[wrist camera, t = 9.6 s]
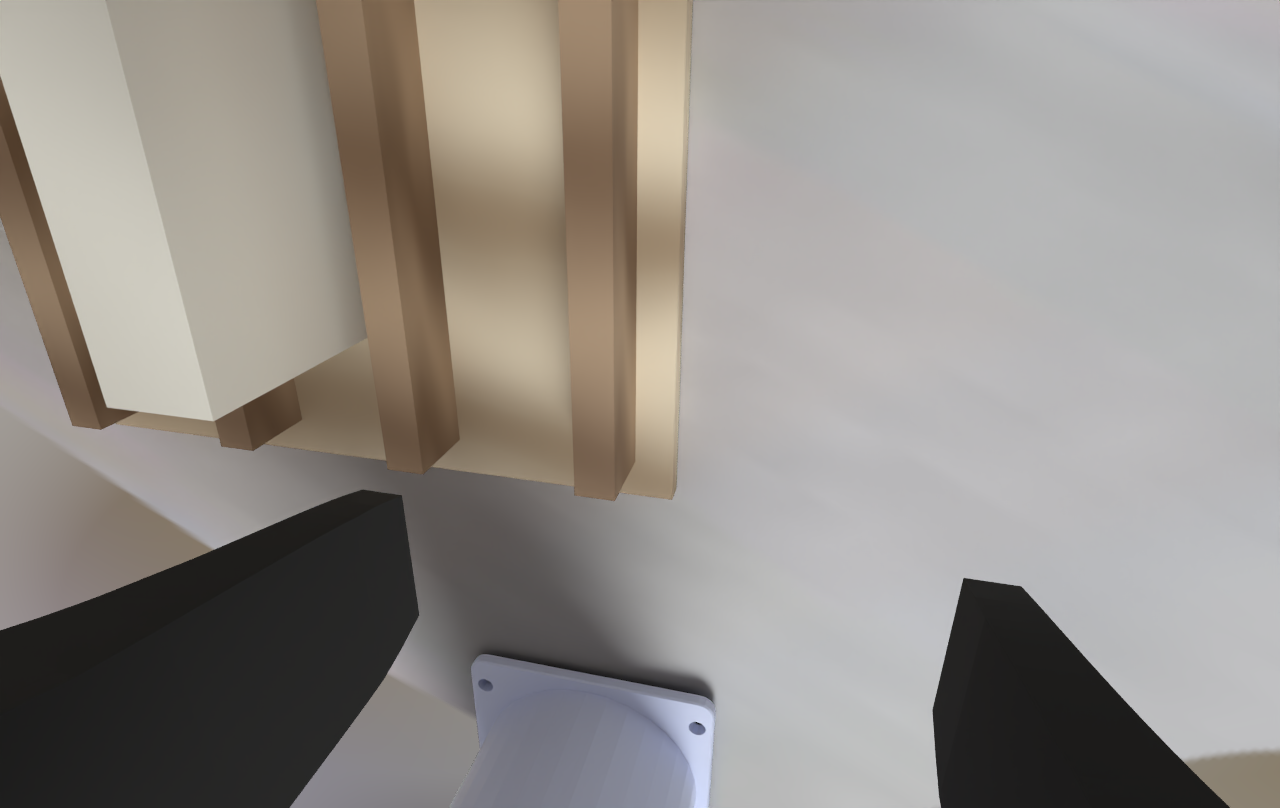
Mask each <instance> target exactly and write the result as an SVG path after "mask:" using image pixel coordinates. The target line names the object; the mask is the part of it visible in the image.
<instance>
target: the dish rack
mask: <svg viewBox="0 0 1280 808" xmlns="http://www.w3.org/2000/svg"><path fill="white" fill-rule="evenodd" d="M316 5H317V11H318V18H319V25H320V31H321V38H322V44H323V51H324V57H325V64H326V70H327V77H328V83H329V90H330V96H331V103H332V109H333V116H334V123H335V129H336V136H337V142H338V149H339V155H340V162H341V168H342V175H343V181H344V188H345V194H346V201H347V207H348V214H349V220H350V227H351V234H352V240H353V247H354V253H355V260H356V266H357V273H358V279H359V286H360V292H361V299H362V305H363V312H364V318H365V325H366V332H367V338H366V339H364V340H363V341H361V342H359V343H357V344H355V345H353V346H352V347H350V348H348V349H346V350H344V351H342V352H340V353H339V354H337V355H335V356H333V357H331V358H329V359H328V360H326V361H324V362H322V363H320V364H318V365H316V366H315V367H313V368H311V369H309V370H307V371H305V372H304V373H302V374H300V375H298V376H296V377H294V378H293V379H291V380H289V381H287V382H285V383H283V384H281V385H280V386H278V387H276V388H274V389H272V390H270V391H269V392H267V393H265V394H263V395H261V396H259V397H258V398H256V399H254V400H252V401H250V402H248V403H246V404H245V405H243V406H241V407H239V408H237V409H235V410H234V411H232V412H230V413H228V414H226V415H224V416H223V417H221V418H219V419H217V420H215V421H207V420H200V419H192V418H184V417H177V416H169V415H161V414H154V413H146V412H138V411H131V410H123V409H115V408H108V407H107V406H106V403H105V400H104V397H103V394H102V391H101V388H100V385H99V381H98V378H97V375H96V372H95V369H94V366H93V363H92V360H91V357H90V353H89V350H88V347H87V344H86V341H85V338H84V335H83V332H82V329H81V325H80V322H79V319H78V316H77V313H76V310H75V307H74V304H73V301H72V297H71V294H70V291H69V288H68V285H67V282H66V279H65V276H64V272H63V269H62V266H61V263H60V260H59V257H58V254H57V251H56V248H55V244H54V241H53V238H52V235H51V232H50V229H49V226H48V223H47V220H46V216H45V213H44V210H43V207H42V204H41V201H40V198H39V195H38V192H37V188H36V185H35V182H34V179H33V176H32V173H31V170H30V167H29V164H28V160H27V157H26V154H25V151H24V148H23V145H22V142H21V139H20V136H19V132H18V129H17V126H16V123H15V120H14V117H13V114H12V111H11V108H10V104H9V101H8V98H7V95H6V92H5V89H4V86H3V83H2V79H1V76H0V218H1V220H2V223H3V226H4V229H5V232H6V235H7V238H8V241H9V244H10V246H11V249H12V252H13V255H14V258H15V261H16V264H17V267H18V269H19V272H20V275H21V278H22V281H23V284H24V287H25V290H26V293H27V295H28V298H29V301H30V304H31V307H32V310H33V313H34V316H35V319H36V321H37V324H38V327H39V330H40V333H41V336H42V339H43V342H44V345H45V347H46V350H47V353H48V356H49V359H50V362H51V365H52V368H53V371H54V373H55V376H56V379H57V382H58V385H59V388H60V391H61V394H62V397H63V399H64V402H65V405H66V408H67V411H68V414H69V417H70V420H71V422H72V425H73V426H78V427H86V428H93V429H100V430H101V429H104V428H106V427H108V426H110V425H112V424H114V423H116V424H119V425H127V426H134V427H141V428H149V429H156V430H163V431H171V432H178V433H185V434H193V435H200V436H207V437H215V438H219V439H220V443H221V446H222V447H230V448H237V449H244V450H251V451H254V450H255V449H257V448H258V447H260V446H261V445H263V444H266V445H274V446H281V447H288V448H296V449H303V450H310V451H318V452H325V453H332V454H340V455H347V456H354V457H362V458H369V459H377V460H384V461H386V462H387V469H388V470H395V471H403V472H410V473H417V474H424V473H425V472H426V471H427V470H428V469H429V468H430V467H435V468H443V469H450V470H457V471H465V472H472V473H480V474H487V475H494V476H502V477H509V478H516V479H524V480H531V481H538V482H546V483H553V484H560V485H568V486H574V495H576V496H583V497H590V498H597V499H604V500H612V501H615V499H616V498H617V496H618V494H619V493H627V494H634V495H641V496H649V497H656V498H663V499H671V500H672V498H673V496H674V493H675V491H676V484H677V454H678V424H679V394H680V364H681V335H682V305H683V275H684V245H685V215H686V185H687V155H688V125H689V95H690V66H691V36H692V6H693V0H316Z"/></svg>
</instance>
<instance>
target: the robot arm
mask: <svg viewBox="0 0 1280 808" xmlns="http://www.w3.org/2000/svg"><path fill="white" fill-rule="evenodd" d="M418 616H419V610H418V604H417V597H416V590H415V583H414V576H413V569H412V563H411V556H410V549H409V542H408V535H407V528H406V522H405V515H404V508H403V501H402V496H401V495H395V494H388V493H381V492H374V491H367V490H360V491H357V492H354V493H351V494H348V495H345V496H342V497H339V498H337V499H334V500H331V501H329V502H326V503H324V504H321V505H319V506H316V507H314V508H311V509H309V510H306V511H304V512H302V513H299V514H297V515H295V516H292V517H290V518H287V519H285V520H283V521H280V522H278V523H276V524H273V525H271V526H269V527H266V528H264V529H262V530H259V531H257V532H255V533H252V534H250V535H248V536H245V537H243V538H241V539H238V540H236V541H234V542H231V543H229V544H227V545H224V546H222V547H220V548H217V549H215V550H213V551H210V552H208V553H206V554H203V555H201V556H199V557H196V558H194V559H192V560H189V561H187V562H184V563H182V564H179V565H176V566H174V567H172V568H169V569H166V570H164V571H161V572H159V573H156V574H154V575H152V576H149V577H147V578H144V579H141V580H139V581H137V582H134V583H132V584H129V585H126V586H124V587H121V588H119V589H116V590H114V591H111V592H109V593H106V594H104V595H101V596H99V597H96V598H93V599H90V600H88V601H85V602H82V603H80V604H77V605H74V606H71V607H68V608H66V609H63V610H60V611H57V612H54V613H51V614H49V615H46V616H43V617H40V618H37V619H34V620H31V621H28V622H25V623H22V624H19V625H16V626H13V627H10V628H7V629H4V630H0V808H290V806H291V805H292V803H293V802H294V801H295V799H296V798H297V797H298V795H299V794H300V793H301V791H302V790H303V789H304V787H305V786H306V785H307V783H308V782H309V781H310V779H311V778H312V776H313V775H314V774H315V773H316V771H317V770H318V768H319V767H320V766H321V764H322V763H323V762H324V761H325V759H326V758H327V756H328V755H329V754H330V752H331V751H332V750H333V748H334V747H335V746H336V744H337V743H338V742H339V740H340V739H341V738H342V736H343V735H344V734H345V732H346V731H347V730H348V728H349V727H350V725H351V724H352V723H353V721H354V720H355V719H356V717H357V716H358V715H359V713H360V712H361V710H362V709H363V708H364V706H365V705H366V704H367V702H368V701H369V699H370V698H371V697H372V695H373V694H374V692H375V691H376V690H377V688H378V687H379V685H380V684H381V682H382V681H383V680H384V678H385V676H386V674H387V673H388V671H389V669H390V668H391V666H392V664H393V662H394V661H395V659H396V657H397V655H398V654H399V652H400V650H401V648H402V646H403V645H404V643H405V641H406V639H407V637H408V635H409V633H410V631H411V629H412V628H413V626H414V624H415V622H416V620H417V618H418ZM471 676H472V684H473V693H474V702H475V711H476V719H477V727H478V737H479V745H480V750H479V752H478V754H477V756H476V758H475V760H474V762H473V763H472V765H471V767H470V769H469V771H468V773H467V775H466V777H465V779H464V780H463V782H462V784H461V786H460V788H459V790H458V792H457V793H456V795H455V797H454V799H453V801H452V803H451V805H450V807H449V808H709V802H710V787H711V773H712V758H713V744H714V729H715V715H716V709H715V705H714V704H713V703H712V701H710V700H709V699H708V698H706V697H703V696H700V695H695V694H690V693H685V692H680V691H675V690H669V689H664V688H659V687H654V686H649V685H644V684H639V683H633V682H628V681H623V680H618V679H613V678H608V677H602V676H597V675H592V674H587V673H582V672H577V671H572V670H566V669H561V668H556V667H551V666H546V665H541V664H535V663H530V662H525V661H520V660H515V659H510V658H504V657H499V656H494V655H489V654H482V655H479V656H478V657H477V658H476V659H475V661H474V662H473V664H472V665H471ZM487 680H488V681H487ZM489 681H490V682H489ZM694 722H698V723H701V724H702V725H698V724H696V723H694ZM933 723H934V738H935V752H936V765H937V777H938V788H939V798H940V803H941V808H1230V807H1229V806H1228V805H1226V803H1225V802H1224V801H1222V799H1221V798H1219V797H1218V796H1217V795H1216V794H1215V793H1214V792H1213V791H1212V790H1211V789H1210V788H1209V787H1208V786H1207V785H1206V784H1205V783H1204V782H1203V781H1202V780H1201V779H1200V778H1199V777H1198V776H1197V775H1196V774H1195V773H1194V772H1193V771H1192V770H1191V769H1190V768H1189V767H1188V766H1187V765H1186V764H1185V763H1184V762H1183V761H1182V760H1181V759H1180V758H1179V757H1178V756H1177V755H1176V754H1175V753H1174V752H1173V751H1172V750H1171V749H1170V748H1169V747H1168V746H1167V745H1166V744H1165V743H1164V742H1163V741H1162V740H1161V739H1160V737H1159V736H1158V735H1157V734H1156V733H1155V732H1154V731H1153V730H1152V729H1151V728H1150V727H1149V726H1148V725H1147V724H1146V723H1145V722H1144V721H1143V720H1142V719H1141V718H1140V717H1139V715H1138V714H1137V713H1136V712H1135V711H1134V710H1133V709H1132V708H1131V707H1130V706H1129V705H1128V704H1127V703H1126V702H1125V701H1124V700H1123V698H1122V697H1121V696H1120V695H1119V694H1118V693H1117V692H1116V691H1115V690H1114V689H1113V688H1112V686H1111V685H1110V684H1109V683H1108V682H1107V681H1106V680H1105V679H1104V678H1103V677H1102V676H1101V675H1100V673H1099V672H1098V671H1097V670H1096V669H1095V668H1094V667H1093V666H1092V665H1091V663H1090V662H1089V661H1088V660H1087V659H1086V658H1085V657H1084V656H1083V655H1082V653H1081V652H1080V651H1079V650H1078V649H1077V648H1076V647H1075V646H1074V645H1073V643H1072V642H1071V641H1070V640H1069V639H1068V638H1067V637H1066V636H1065V634H1064V633H1063V632H1062V631H1061V630H1060V629H1059V628H1058V627H1057V625H1056V624H1055V623H1054V622H1053V621H1052V620H1051V619H1050V618H1049V616H1048V615H1047V614H1046V613H1045V612H1044V611H1043V610H1042V609H1041V607H1040V606H1039V605H1038V604H1037V603H1036V602H1035V601H1034V600H1033V599H1032V598H1031V596H1030V595H1029V594H1028V593H1027V592H1026V591H1025V590H1024V589H1023V588H1022V587H1021V586H1014V585H1007V584H1001V583H994V582H987V581H980V580H973V579H967V578H964V579H963V583H962V587H961V591H960V596H959V600H958V604H957V608H956V613H955V617H954V621H953V625H952V630H951V634H950V638H949V642H948V647H947V651H946V655H945V660H944V664H943V668H942V672H941V677H940V681H939V685H938V689H937V694H936V698H935V702H934V706H933Z"/></svg>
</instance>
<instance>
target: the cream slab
mask: <svg viewBox="0 0 1280 808" xmlns="http://www.w3.org/2000/svg"><path fill="white" fill-rule="evenodd" d="M0 76H1V79H2V83H3V86H4V89H5V92H6V95H7V98H8V101H9V104H10V108H11V111H12V114H13V117H14V120H15V123H16V126H17V129H18V132H19V136H20V139H21V142H22V145H23V148H24V151H25V154H26V157H27V160H28V164H29V167H30V170H31V173H32V176H33V179H34V182H35V185H36V188H37V192H38V195H39V198H40V201H41V204H42V207H43V210H44V213H45V216H46V220H47V223H48V226H49V229H50V232H51V235H52V238H53V241H54V244H55V248H56V251H57V254H58V257H59V260H60V263H61V266H62V269H63V272H64V276H65V279H66V282H67V285H68V288H69V291H70V294H71V297H72V301H73V304H74V307H75V310H76V313H77V316H78V319H79V322H80V325H81V329H82V332H83V335H84V338H85V341H86V344H87V347H88V350H89V353H90V357H91V360H92V363H93V366H94V369H95V372H96V375H97V378H98V381H99V385H100V388H101V391H102V394H103V397H104V400H105V403H106V406H107V407H108V408H115V409H123V410H131V411H138V412H146V413H154V414H161V415H169V416H177V417H184V418H192V419H200V420H207V421H215V420H217V419H219V418H221V417H223V416H224V415H226V414H228V413H230V412H232V411H234V410H235V409H237V408H239V407H241V406H243V405H245V404H246V403H248V402H250V401H252V400H254V399H256V398H258V397H259V396H261V395H263V394H265V393H267V392H269V391H270V390H272V389H274V388H276V387H278V386H280V385H281V384H283V383H285V382H287V381H289V380H291V379H293V378H294V377H296V376H298V375H300V374H302V373H304V372H305V371H307V370H309V369H311V368H313V367H315V366H316V365H318V364H320V363H322V362H324V361H326V360H328V359H329V358H331V357H333V356H335V355H337V354H339V353H340V352H342V351H344V350H346V349H348V348H350V347H352V346H353V345H355V344H357V343H359V342H361V341H363V340H364V339H366V338H367V332H366V325H365V318H364V312H363V305H362V299H361V292H360V286H359V279H358V273H357V266H356V260H355V253H354V247H353V240H352V234H351V227H350V220H349V214H348V207H347V201H346V194H345V188H344V181H343V175H342V168H341V162H340V155H339V149H338V142H337V136H336V129H335V123H334V116H333V109H332V103H331V96H330V90H329V83H328V77H327V70H326V64H325V57H324V51H323V44H322V38H321V31H320V25H319V18H318V11H317V5H316V0H0Z"/></svg>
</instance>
